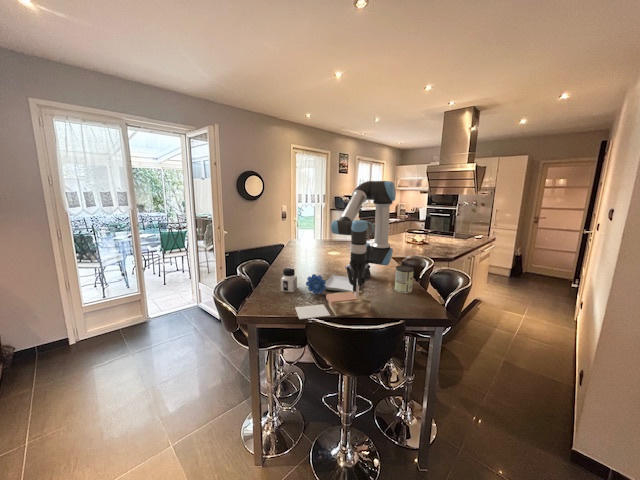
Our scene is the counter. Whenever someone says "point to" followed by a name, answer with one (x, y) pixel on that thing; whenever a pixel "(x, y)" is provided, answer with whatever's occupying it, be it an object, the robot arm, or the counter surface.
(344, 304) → the box
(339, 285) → the salad plate
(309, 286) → the grapes
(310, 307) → the mat
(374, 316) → the counter surface
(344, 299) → the block
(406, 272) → the coffee can
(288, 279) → the container
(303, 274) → the counter surface
